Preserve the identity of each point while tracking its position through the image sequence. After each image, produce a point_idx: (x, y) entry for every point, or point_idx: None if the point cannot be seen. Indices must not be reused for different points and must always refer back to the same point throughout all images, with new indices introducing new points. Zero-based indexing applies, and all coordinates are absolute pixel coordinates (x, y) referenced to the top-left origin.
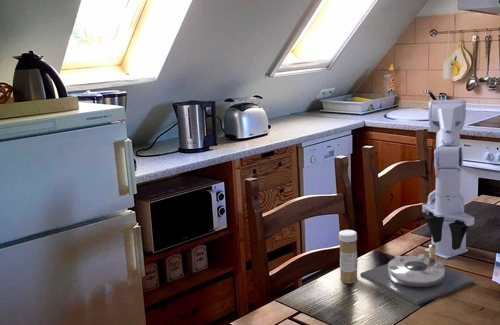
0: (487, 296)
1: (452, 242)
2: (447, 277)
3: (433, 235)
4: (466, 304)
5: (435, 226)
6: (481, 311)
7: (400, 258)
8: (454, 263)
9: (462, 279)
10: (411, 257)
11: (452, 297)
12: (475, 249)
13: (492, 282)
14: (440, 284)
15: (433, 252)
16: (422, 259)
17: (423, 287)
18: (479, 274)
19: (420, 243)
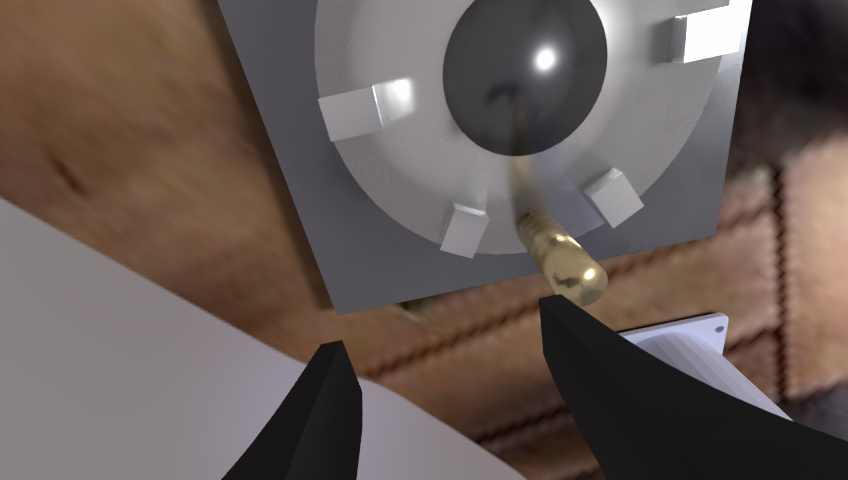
0: (194, 274)
1: (314, 388)
2: None
3: (581, 334)
4: (124, 134)
5: (641, 454)
6: (32, 154)
7: (683, 27)
8: None
9: (354, 270)
10: (654, 139)
11: (221, 119)
12: (592, 460)
13: None
14: None
15: (541, 254)
16: (585, 186)
17: None
18: (403, 363)
19: (789, 339)
